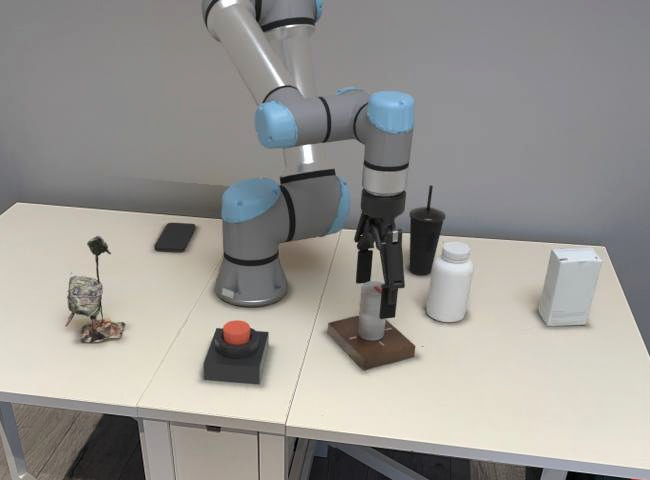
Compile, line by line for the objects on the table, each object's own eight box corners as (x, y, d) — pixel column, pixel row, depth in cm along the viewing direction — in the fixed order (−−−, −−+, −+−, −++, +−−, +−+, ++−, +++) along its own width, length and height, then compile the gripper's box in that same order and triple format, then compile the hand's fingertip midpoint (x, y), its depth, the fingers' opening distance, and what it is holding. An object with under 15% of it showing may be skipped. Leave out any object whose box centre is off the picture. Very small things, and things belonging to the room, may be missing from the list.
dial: (352, 330, 146) (356, 282, 141) (375, 324, 148) (379, 277, 142) (366, 343, 143) (370, 294, 137) (389, 337, 144) (394, 289, 138)
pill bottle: (465, 325, 153) (477, 257, 144) (425, 321, 154) (434, 253, 146) (465, 306, 159) (476, 240, 151) (426, 302, 160) (435, 236, 152)
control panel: (327, 333, 150) (328, 321, 149) (375, 321, 154) (376, 310, 152) (363, 370, 140) (364, 358, 138) (414, 357, 143) (415, 345, 142)
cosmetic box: (575, 311, 158) (593, 245, 149) (586, 327, 153) (605, 259, 144) (535, 312, 157) (550, 246, 149) (545, 327, 152) (561, 260, 144)
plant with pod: (76, 320, 153) (61, 228, 142) (131, 325, 152) (120, 232, 141) (61, 342, 147) (44, 247, 136) (118, 347, 146) (106, 251, 134)
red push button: (226, 330, 140) (225, 319, 139) (252, 332, 140) (251, 321, 138) (221, 344, 136) (220, 333, 135) (247, 346, 136) (247, 335, 134)
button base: (217, 344, 147) (215, 317, 143) (268, 348, 146) (268, 321, 142) (204, 380, 137) (202, 352, 133) (259, 384, 136) (259, 356, 132)
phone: (196, 223, 191) (183, 249, 178) (196, 226, 191) (184, 252, 179) (167, 222, 192) (152, 247, 179) (167, 225, 192) (153, 250, 180)
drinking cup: (442, 268, 173) (455, 184, 162) (429, 281, 168) (441, 195, 157) (411, 260, 177) (421, 176, 165) (397, 273, 171) (406, 187, 160)
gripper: (433, 215, 120) (419, 331, 131) (380, 163, 140) (372, 267, 152) (388, 219, 118) (377, 336, 130) (341, 165, 139) (335, 271, 150)
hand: (374, 299), depth 141 cm, fingers open, 13 cm apart
